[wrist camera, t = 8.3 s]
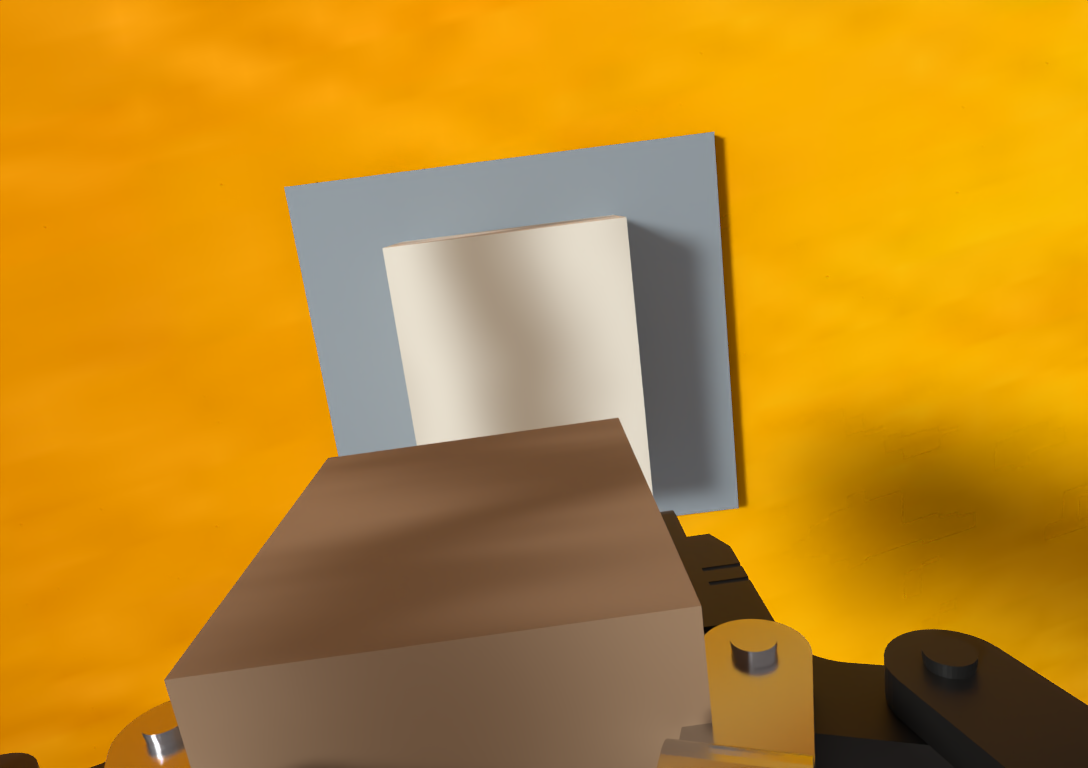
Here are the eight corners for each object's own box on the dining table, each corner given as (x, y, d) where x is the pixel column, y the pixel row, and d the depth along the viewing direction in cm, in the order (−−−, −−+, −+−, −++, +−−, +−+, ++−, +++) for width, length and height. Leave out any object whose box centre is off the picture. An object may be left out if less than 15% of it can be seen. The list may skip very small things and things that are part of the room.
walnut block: (618, 418, 13) (701, 606, 7) (647, 671, 14) (739, 1013, 8) (328, 458, 13) (165, 680, 7) (383, 708, 14) (284, 1075, 8)
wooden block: (612, 214, 28) (626, 216, 24) (637, 463, 30) (653, 502, 26) (402, 241, 28) (382, 248, 24) (444, 487, 30) (431, 529, 27)
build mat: (710, 133, 28) (714, 131, 27) (734, 502, 31) (738, 507, 31) (289, 187, 28) (284, 187, 27) (361, 548, 32) (358, 554, 31)
